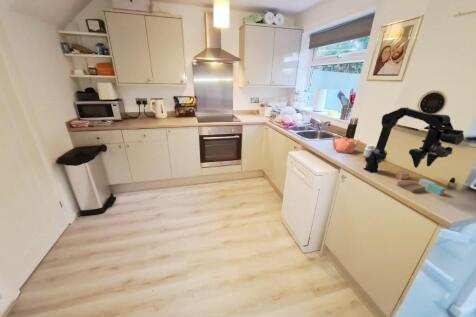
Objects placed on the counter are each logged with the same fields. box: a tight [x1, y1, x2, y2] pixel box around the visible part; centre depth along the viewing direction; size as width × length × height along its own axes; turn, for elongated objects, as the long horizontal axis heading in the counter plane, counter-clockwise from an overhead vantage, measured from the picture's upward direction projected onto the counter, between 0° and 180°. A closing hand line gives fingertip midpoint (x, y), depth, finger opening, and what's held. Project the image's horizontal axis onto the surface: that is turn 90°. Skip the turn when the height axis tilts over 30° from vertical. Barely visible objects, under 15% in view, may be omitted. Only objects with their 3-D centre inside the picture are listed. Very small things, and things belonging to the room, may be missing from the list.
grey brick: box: [418, 178, 437, 190], centre depth 119 cm, size 6×4×4 cm, turn 16°
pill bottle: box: [362, 143, 375, 160], centre depth 161 cm, size 6×6×11 cm
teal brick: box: [426, 183, 447, 196], centre depth 113 cm, size 6×4×4 cm, turn 16°
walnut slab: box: [396, 179, 426, 194], centre depth 117 cm, size 9×9×3 cm
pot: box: [330, 135, 361, 154], centre depth 178 cm, size 18×17×12 cm
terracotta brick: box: [394, 170, 410, 180], centre depth 130 cm, size 6×4×4 cm, turn 106°
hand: (421, 166), depth 110 cm, fingers open, 9 cm apart
